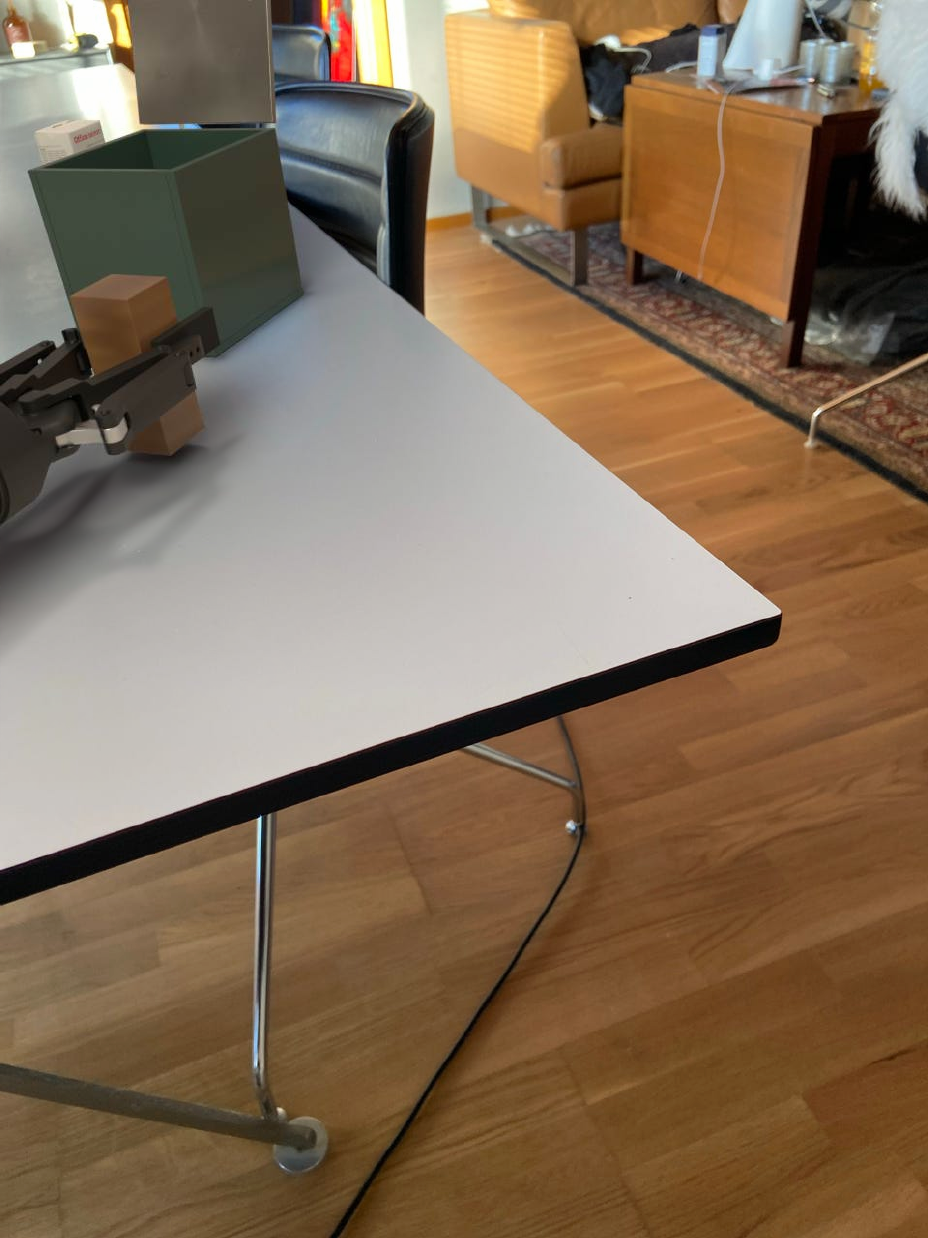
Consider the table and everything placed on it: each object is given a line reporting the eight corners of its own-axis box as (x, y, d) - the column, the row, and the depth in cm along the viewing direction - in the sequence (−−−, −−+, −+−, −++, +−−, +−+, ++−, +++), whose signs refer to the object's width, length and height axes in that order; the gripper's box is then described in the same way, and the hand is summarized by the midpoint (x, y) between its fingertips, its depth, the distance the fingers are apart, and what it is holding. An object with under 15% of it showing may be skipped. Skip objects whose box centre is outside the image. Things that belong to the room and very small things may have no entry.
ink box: (96, 232, 125) (67, 131, 118) (61, 233, 125) (30, 132, 118) (126, 214, 131) (101, 116, 124) (93, 215, 132) (65, 118, 125)
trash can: (216, 357, 87) (173, 171, 78) (82, 346, 91) (26, 170, 82) (303, 294, 99) (275, 127, 90) (181, 287, 104) (142, 128, 95)
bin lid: (261, -110, 83) (265, -108, 83) (118, -96, 87) (123, -94, 88) (272, 122, 89) (276, 123, 90) (139, 123, 94) (143, 124, 95)
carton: (116, 449, 70) (68, 295, 63) (153, 422, 73) (111, 273, 67) (170, 456, 68) (126, 299, 62) (204, 428, 72) (167, 276, 65)
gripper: (-146, 517, 59) (96, 364, 76) (95, 556, 53) (297, 382, 70) (-206, 400, 54) (66, 266, 71) (50, 429, 49) (278, 276, 66)
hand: (180, 323), depth 71 cm, fingers closed on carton, 4 cm apart
